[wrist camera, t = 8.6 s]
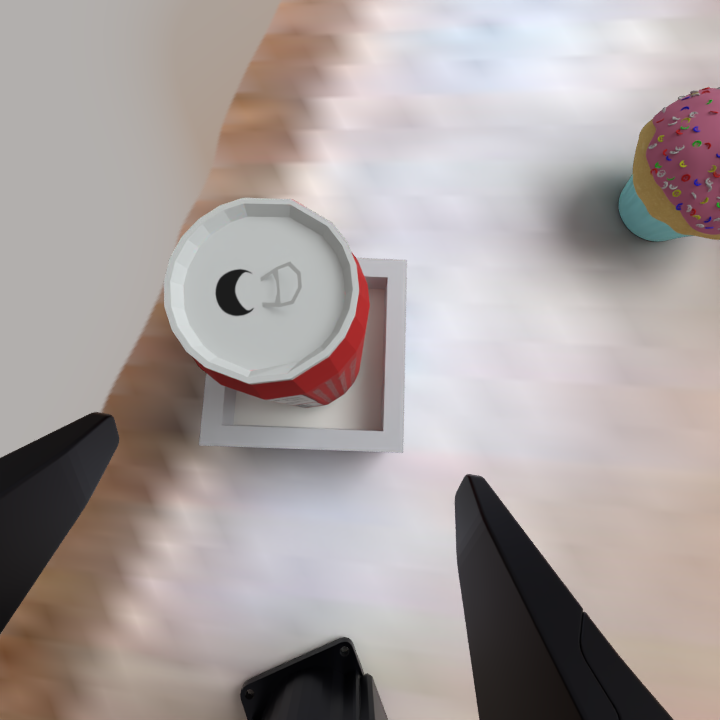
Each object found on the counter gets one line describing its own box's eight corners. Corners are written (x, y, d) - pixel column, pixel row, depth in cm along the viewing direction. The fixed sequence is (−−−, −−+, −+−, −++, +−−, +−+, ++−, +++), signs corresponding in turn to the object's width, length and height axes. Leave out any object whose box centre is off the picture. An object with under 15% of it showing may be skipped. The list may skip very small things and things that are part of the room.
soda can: (355, 306, 22) (360, 169, 10) (365, 401, 21) (384, 381, 9) (258, 315, 21) (141, 188, 9) (265, 412, 21) (146, 406, 9)
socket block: (393, 445, 23) (403, 452, 19) (228, 439, 23) (198, 445, 18) (397, 288, 24) (407, 260, 20) (242, 281, 24) (218, 251, 20)
